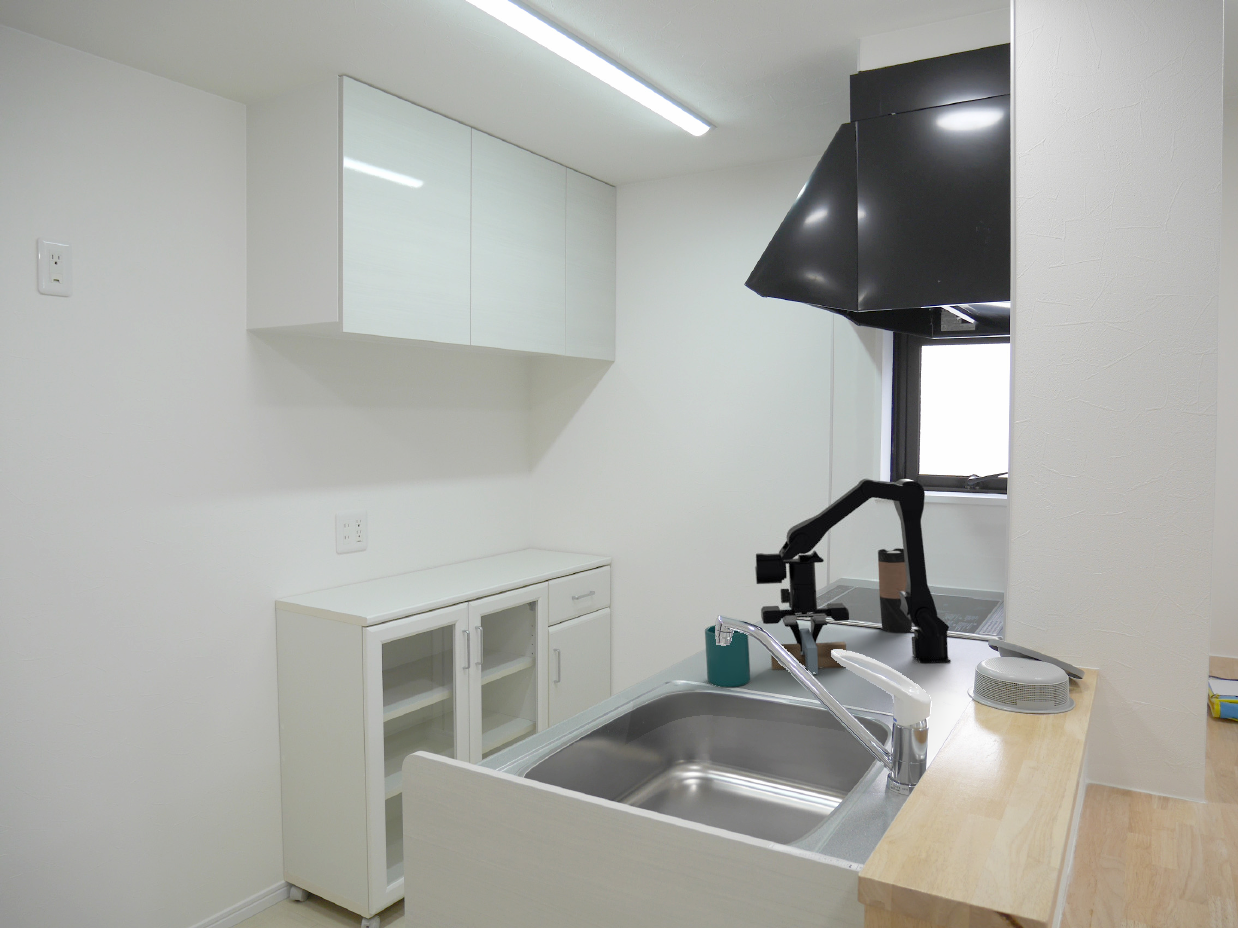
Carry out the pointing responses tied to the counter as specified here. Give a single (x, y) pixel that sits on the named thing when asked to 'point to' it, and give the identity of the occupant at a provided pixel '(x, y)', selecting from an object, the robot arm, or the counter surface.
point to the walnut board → (822, 654)
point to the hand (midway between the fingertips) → (806, 651)
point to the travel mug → (892, 590)
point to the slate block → (809, 650)
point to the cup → (727, 660)
